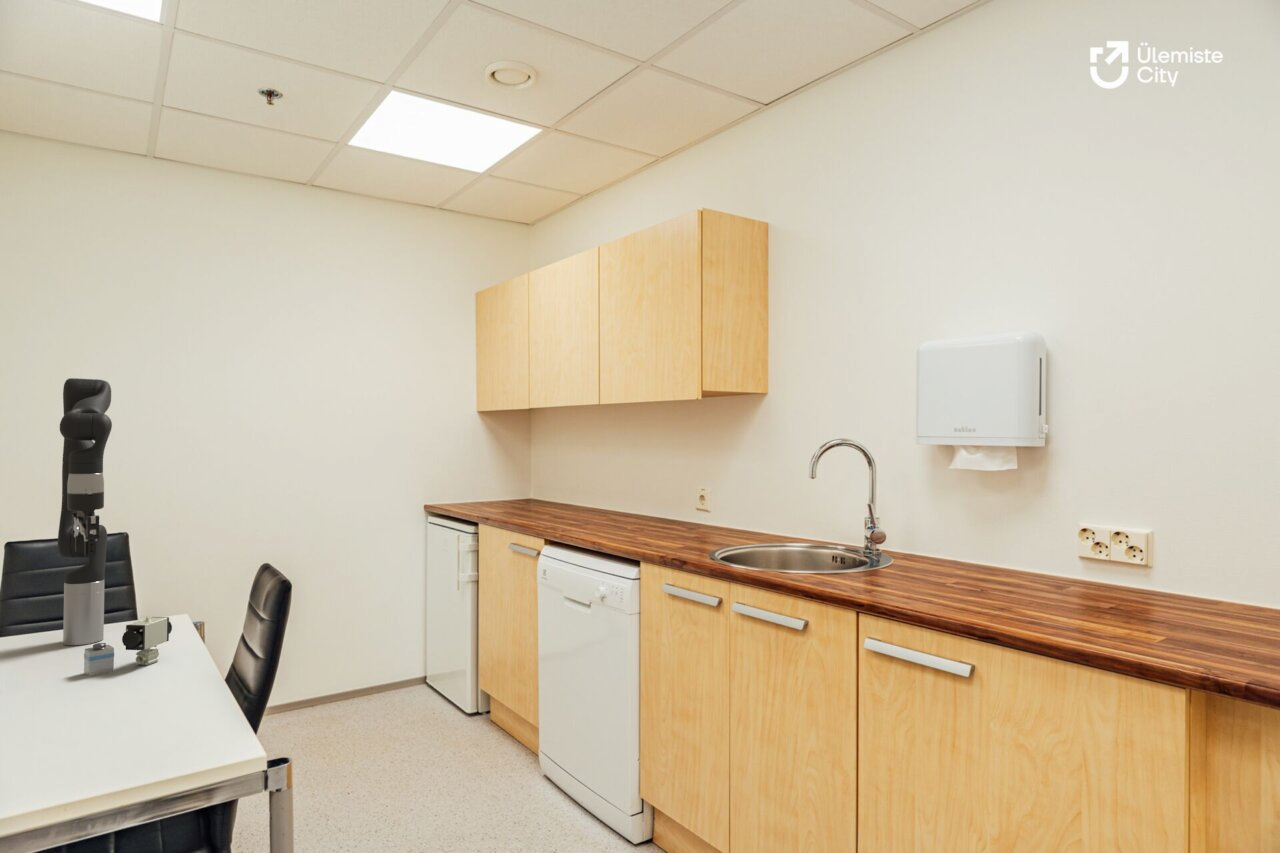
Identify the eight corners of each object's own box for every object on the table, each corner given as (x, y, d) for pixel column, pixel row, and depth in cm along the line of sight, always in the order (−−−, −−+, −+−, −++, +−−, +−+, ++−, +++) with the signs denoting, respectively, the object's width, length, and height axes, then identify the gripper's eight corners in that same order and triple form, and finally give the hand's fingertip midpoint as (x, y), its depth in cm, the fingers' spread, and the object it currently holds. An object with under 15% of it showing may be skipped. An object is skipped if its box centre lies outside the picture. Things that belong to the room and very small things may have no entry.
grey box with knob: (83, 673, 181) (84, 644, 182) (108, 668, 185) (109, 640, 185) (88, 677, 178) (89, 648, 179) (113, 672, 182) (114, 643, 183)
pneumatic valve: (172, 657, 195) (173, 611, 195) (138, 670, 183) (138, 622, 184) (153, 656, 196) (153, 611, 196) (117, 670, 184) (118, 622, 184)
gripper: (60, 489, 190) (60, 552, 190) (75, 493, 181) (74, 559, 181) (95, 488, 196) (95, 548, 196) (111, 491, 186) (111, 555, 187)
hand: (85, 553), depth 188 cm, fingers open, 8 cm apart
